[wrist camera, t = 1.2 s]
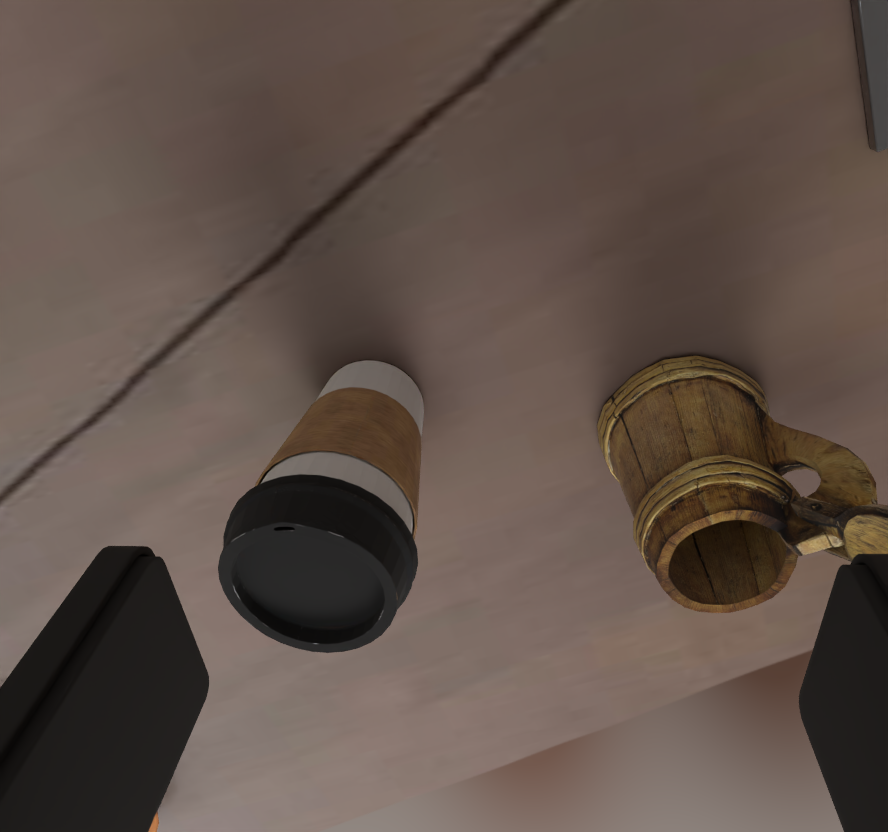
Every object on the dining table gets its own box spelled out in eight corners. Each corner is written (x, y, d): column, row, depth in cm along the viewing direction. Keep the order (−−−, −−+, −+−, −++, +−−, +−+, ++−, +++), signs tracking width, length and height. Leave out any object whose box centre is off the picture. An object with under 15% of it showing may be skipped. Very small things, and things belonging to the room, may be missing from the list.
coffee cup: (436, 334, 38) (391, 513, 25) (453, 460, 42) (423, 667, 29) (288, 343, 39) (174, 519, 26) (320, 465, 43) (235, 666, 31)
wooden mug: (871, 411, 38) (1107, 703, 22) (642, 510, 43) (707, 803, 27) (810, 280, 34) (1040, 520, 19) (569, 405, 39) (597, 673, 24)
